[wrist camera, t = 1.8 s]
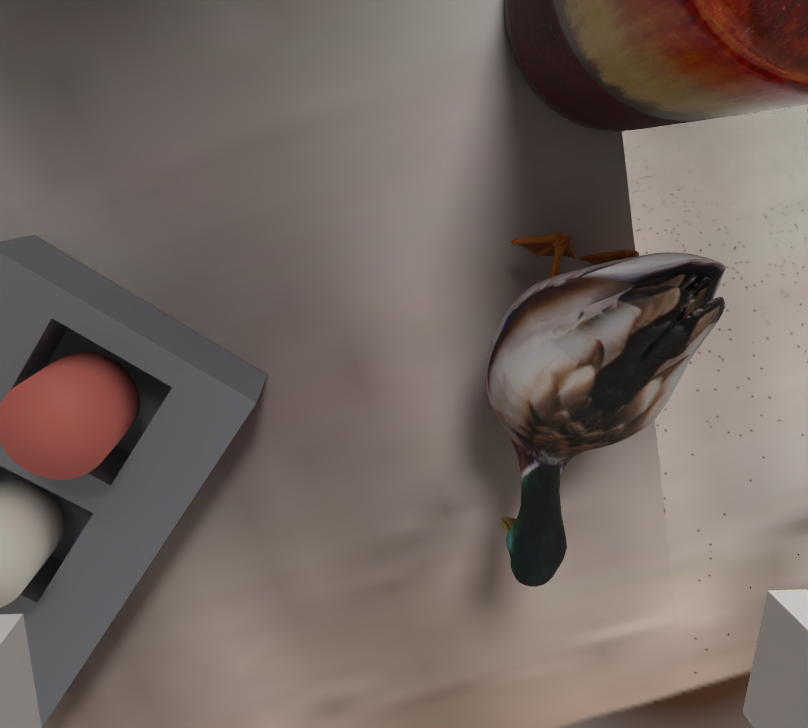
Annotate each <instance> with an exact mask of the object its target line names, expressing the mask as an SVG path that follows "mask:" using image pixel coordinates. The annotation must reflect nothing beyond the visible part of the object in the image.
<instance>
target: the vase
mask: <svg viewBox="0 0 808 728" xmlns="http://www.w3.org/2000/svg"><path fill="white" fill-rule="evenodd" d="M504 2H505V22H506V28H507V34H508V40H509V43H510V46H511V49H512V52H513V55H514V58H515V61H516V63H517V65H518V67H519V69H520V71H521V73H522V75H523V77H524V78H525V80H526V81H527V82H528V84H529V85H530V87H531V88H532V89H533V91H534V92H535V93H536V94H537V95H538V96H539V97H540V98H541V99H542V100H543V101H544V102H545V103H546V104H547V105H548V106H549V107H550V108H552V109H553V110H555V111H556V112H557V113H559V114H560V115H562V116H563V117H565V118H567V119H569V120H571V121H574V122H576V123H578V124H580V125H583V126H587V127H591V128H594V129H598V130H609V131H625V130H636V129H644V128H651V127H658V126H665V125H672V124H679V123H686V122H692V121H699V120H706V119H713V118H720V117H726V116H733V115H740V114H746V113H753V112H760V111H766V110H773V109H780V108H786V107H793V106H800V105H806V104H808V0H504Z"/></svg>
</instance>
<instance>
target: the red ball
mask: <svg viewBox="0 0 808 728" xmlns="http://www.w3.org/2000/svg"><path fill="white" fill-rule="evenodd" d="M139 408H140V398H139V392H138V389H137V386H136V384H135V382H134V380H133V378H132V377H131V375H130V374H129V373H128V372H127V371H126V370H125V368H123V367H122V366H121V365H120V364H119V363H117V362H116V361H114V360H112V359H110V358H108V357H106V356H103V355H101V354H96V353H91V352H77V353H72V354H68V355H65V356H63V357H61V358H59V359H57V360H56V361H54V362H53V363H51V364H49V365H48V366H46V367H45V368H43V369H42V370H40V371H39V372H37V373H35V374H34V375H32V376H31V377H29V378H28V379H26V380H25V381H23V382H22V383H20V384H18V385H17V386H15V387H14V388H13V389H12V390H10V391H9V392H8V394H7V395H6V396H5V397H4V399H3V400H2V402H1V404H0V442H1V444H2V446H3V448H4V449H5V451H6V453H7V454H8V455H9V456H10V457H11V459H12V460H14V461H15V462H16V463H17V464H18V465H19V466H21V467H22V468H23V469H25V470H27V471H29V472H31V473H33V474H35V475H38V476H41V477H44V478H49V479H58V480H62V479H72V478H76V477H80V476H82V475H85V474H87V473H89V472H90V471H92V470H93V469H95V468H96V467H97V466H98V465H99V464H100V463H101V462H102V461H103V460H104V459H105V458H106V456H107V455H108V454H109V453H110V452H111V451H112V449H113V448H114V447H115V446H116V445H117V443H118V442H119V441H120V440H121V439H122V438H123V436H124V435H125V434H126V433H127V432H128V431H129V429H130V428H131V427H132V425H133V424H134V422H135V421H136V419H137V416H138V413H139Z"/></svg>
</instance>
